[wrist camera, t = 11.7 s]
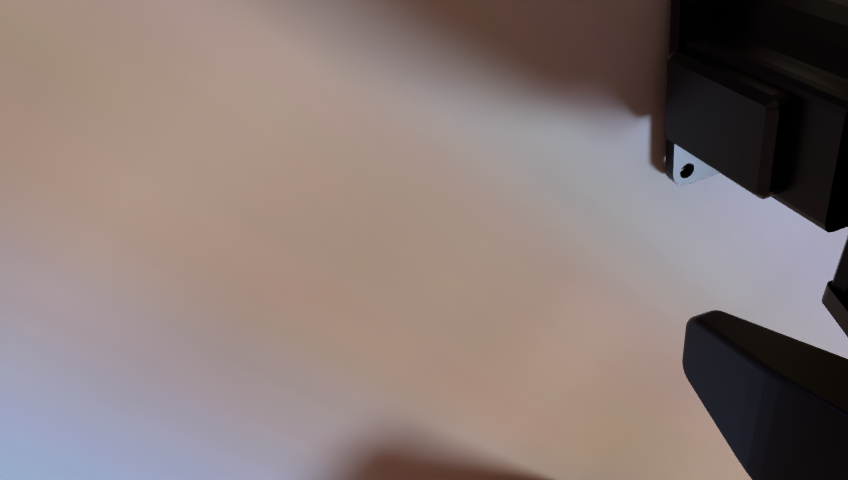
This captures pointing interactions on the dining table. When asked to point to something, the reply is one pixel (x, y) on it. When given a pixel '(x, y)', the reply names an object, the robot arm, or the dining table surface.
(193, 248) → the dining table surface
